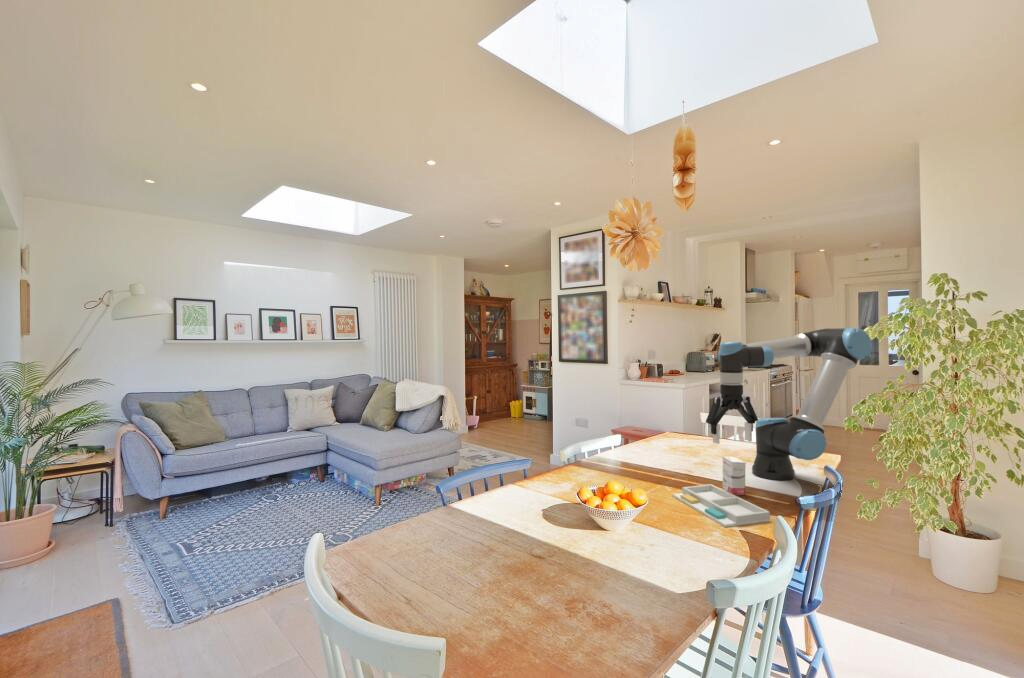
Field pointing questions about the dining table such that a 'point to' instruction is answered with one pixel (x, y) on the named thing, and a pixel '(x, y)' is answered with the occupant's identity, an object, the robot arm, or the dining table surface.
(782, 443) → the robot arm
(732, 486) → the ink box
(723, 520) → the dock board
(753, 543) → the dining table surface
